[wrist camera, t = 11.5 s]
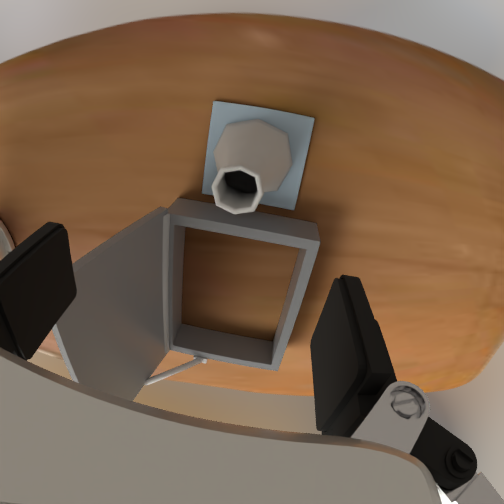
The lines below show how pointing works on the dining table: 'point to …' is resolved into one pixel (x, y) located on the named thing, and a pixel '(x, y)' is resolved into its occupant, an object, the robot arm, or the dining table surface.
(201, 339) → the case
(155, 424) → the robot arm
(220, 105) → the mat
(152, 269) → the lid and stay
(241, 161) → the flask
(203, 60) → the dining table surface
